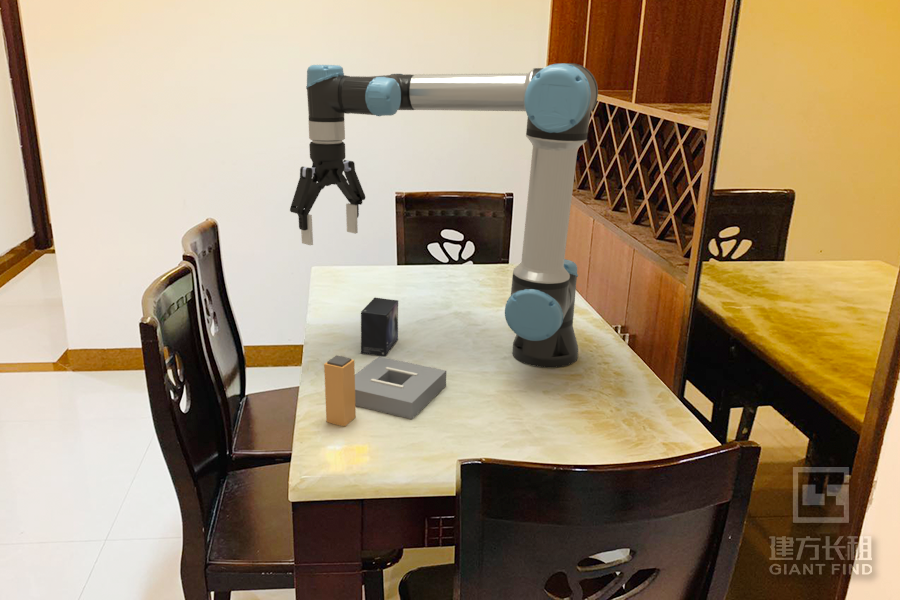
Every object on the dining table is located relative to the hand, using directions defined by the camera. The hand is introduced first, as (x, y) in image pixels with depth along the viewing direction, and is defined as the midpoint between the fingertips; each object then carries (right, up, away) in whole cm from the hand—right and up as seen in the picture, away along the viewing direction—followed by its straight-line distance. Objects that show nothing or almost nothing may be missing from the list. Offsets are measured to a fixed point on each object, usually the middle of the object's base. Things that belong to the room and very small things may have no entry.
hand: (330, 238), depth 161 cm
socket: (+15, -33, -13) cm, 38 cm away
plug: (+6, -36, -23) cm, 44 cm away
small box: (+10, -25, +10) cm, 29 cm away
